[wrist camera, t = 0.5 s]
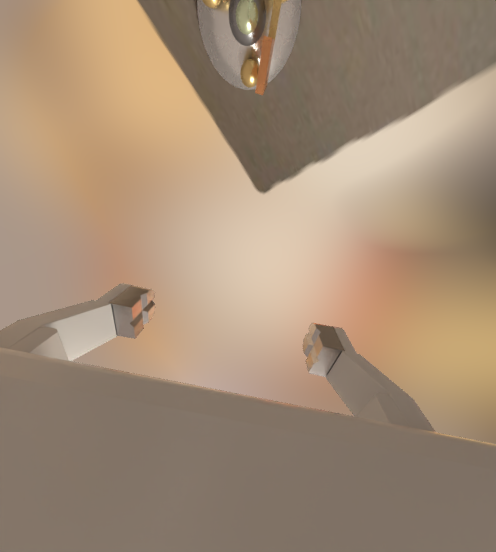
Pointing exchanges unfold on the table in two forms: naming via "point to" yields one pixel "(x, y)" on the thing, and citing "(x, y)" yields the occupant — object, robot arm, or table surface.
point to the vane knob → (268, 48)
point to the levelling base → (246, 36)
